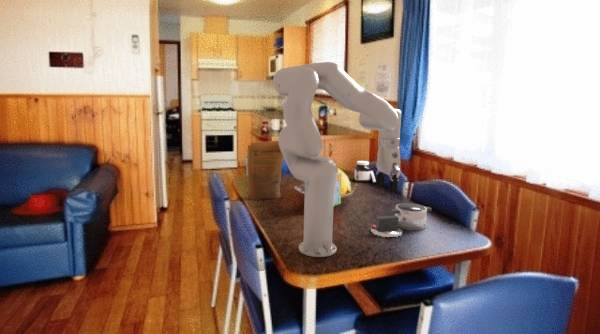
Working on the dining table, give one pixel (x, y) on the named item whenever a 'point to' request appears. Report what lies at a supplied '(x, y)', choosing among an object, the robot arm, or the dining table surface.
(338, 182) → the snack box
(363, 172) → the spread jar
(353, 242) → the dining table surface
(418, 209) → the pot
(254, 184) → the pancake mix bag
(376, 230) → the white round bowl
